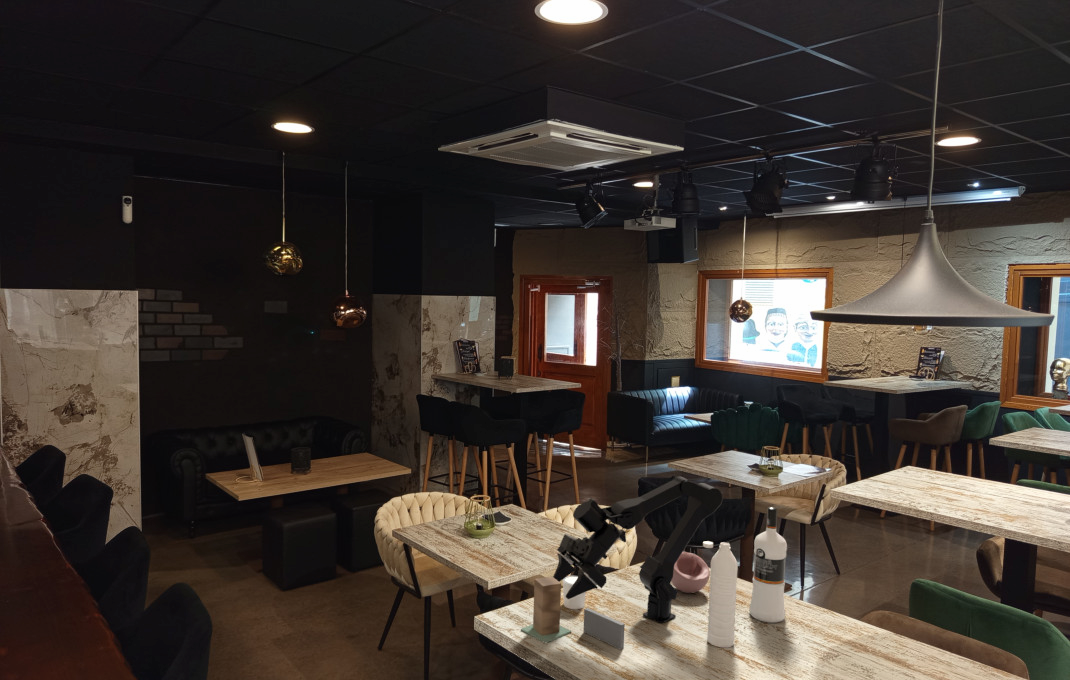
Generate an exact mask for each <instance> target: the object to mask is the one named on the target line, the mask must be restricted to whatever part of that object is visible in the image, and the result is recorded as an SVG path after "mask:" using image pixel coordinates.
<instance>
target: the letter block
mask: <svg viewBox="0 0 1070 680" xmlns="http://www.w3.org/2000/svg"><path fill="white" fill-rule="evenodd" d="M533 587H534V590H533V613H532V614H533V615H532V617H533V618H532V620H533V621H532V624H533V628H534V629H535V630H536V631H537V632H538V633H539V634H540V635H541V636H542V635H547V634H553V633H558V632H559V629H560V626H561V624H560V623H561V622H560V621H561V601H562V600H561V597H562V583H561V581H560V582H559V581H558V580H556V579H555V578H554V577H553V576H546V577H538V578H534V585H533Z"/></svg>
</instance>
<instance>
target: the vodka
mask: <svg viewBox="0 0 1070 680" xmlns="http://www.w3.org/2000/svg"><path fill="white" fill-rule="evenodd" d="M766 509H767V510H766V511H767V513H766V528H765V531H763V532H761V533H759V534H757V535H756V536H755V539H754V543H753V545H754V549H753V553H754V557H753V558H754V559H753V560H754V561H753V577H752V592H751V600H750V604H749V607H748V608H749V614H750V615H751V617H752V618H754V619H756V620H757V621H761V622H764V623H770V624H775V623H780V622H783V621H784V620H785V618H786V609H785V595H784V594H785V585H786V582H785V577H786V576H785V570H786V558H787V550H788V549H787V548H788V544H787V540H786V539H785V538H784V536H782V535H780V534H779V533H778V532H777V525H778V523H777V521H778V520H777V519H778V508H777V507H776V506H775V507H774V506H767V508H766Z"/></svg>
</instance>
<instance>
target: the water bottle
mask: <svg viewBox="0 0 1070 680" xmlns="http://www.w3.org/2000/svg"><path fill="white" fill-rule="evenodd" d="M702 547H704V548H706V549H712V548H714V542H713V541H709V540H707V541H703V542H702ZM718 547H719V549H718V550H717V552H715V554H714V555H713V556H712V557H711V560H710V576H709V579H710V580H709V592H708V593H709V594H708V617H707V621H708V623H707V634H706V635H707V636H706V638H707V639H706V640H707V642H708V643H709V644H710V645H712V646H713V647H717V648H730V647H733V646H734V644H735V631H736V630H735V629H736V627H735V625H736V624H735V623H736V617H735V616H736V608H737V605H736V604H737V583H738V570H739V569H738V561H737V559H736V557H735V555H734V554H733V552H732V551H731V544H730V542H725V541H723V542H720V544H719V546H718Z"/></svg>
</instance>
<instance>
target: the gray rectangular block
mask: <svg viewBox="0 0 1070 680" xmlns="http://www.w3.org/2000/svg"><path fill="white" fill-rule="evenodd" d="M583 610H584V611H583V633H584V634H586V633H587V634H586V635H588V634H589V635H588V636H590V635H591V636H590V637H592V636H594V637H593V638H595V637H596V638H595V639H597V638H598V639H597V640H599V639H600V640H599V641H601V640H602V641H601V642H603V641H604V642H603V643H605V642H606V643H605V644H607V643H608V645H610V646H612V647H614V648H616V649H618V650H622V649H624V648H625V626H626V623H623V622H621V621H619V620H617V619H615V618H612V617H610V616H607V615H605V614H604V613H603V614H602V613H600V612H598V611H596V610H594V609H591V608H589V607H586V608H584V609H583Z"/></svg>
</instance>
